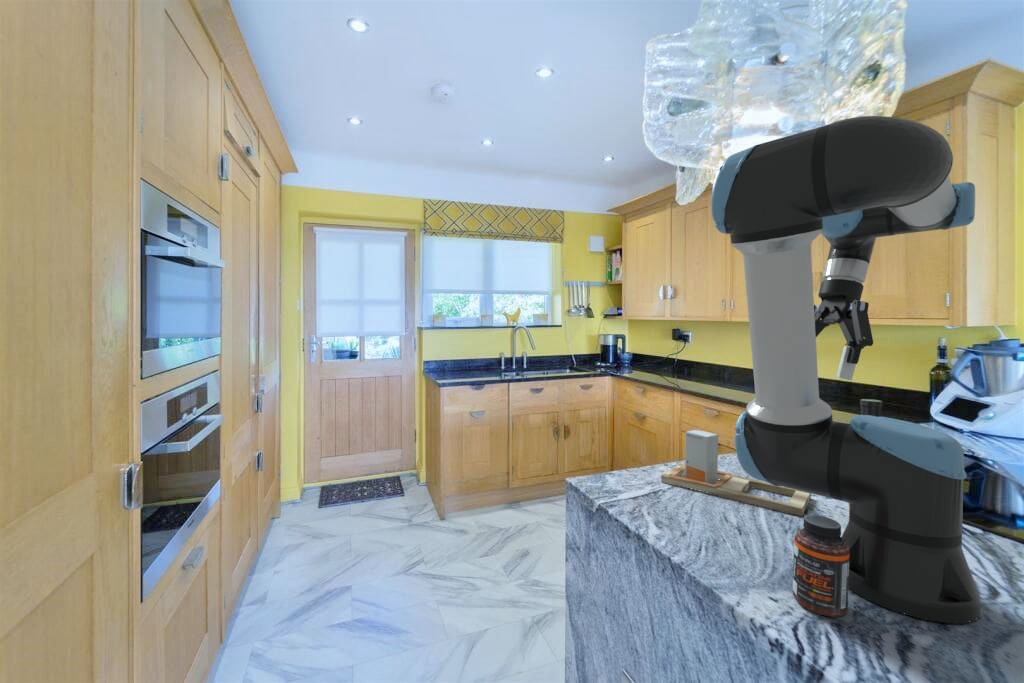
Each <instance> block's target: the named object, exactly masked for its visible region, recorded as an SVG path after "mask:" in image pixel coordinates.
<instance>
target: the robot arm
mask: <svg viewBox="0 0 1024 683" xmlns="http://www.w3.org/2000/svg"><path fill="white" fill-rule="evenodd" d="M953 158H954V157H953V152H952V149H951V146H950V144H949V142H948V140H947V139H946V137H944V135H943V134H942V133H940V132H939V131H937V130H936V129H934V128H932V127H930V126H929V125H926V124H923V123H921V122H918V121H914V120H911V119H907V118H902V117H896V116H884V115H883V116H882V115H867V116H863V115H862V116H856V117H850V118H845V119H840V120H838V121H833V122H831V123H830V124H826V125H823V126H818V127H815V128H812V129H808V130H804V131H801V132H797V133H795V134H791V135H788V136H787V135H786V136H784V137H783V136H782V137H780V138H777V139H773V140H770V141H766V142H763V143H758V144H754V145H753V146H751V147H749V148H746V149H744V150H741V151H738V152H736V153H732V154H731V155H729V156H728V157H727V158H726V159H725V160H724V161H722V163H721V165H720V166H719V168H718V170H717V172H716V174H715V176H714V181H713V185H712V189H711V198H710V201H711V202H710V206H711V217H712V221H713V222H715V223H714V225H715V228H716V229H717V231H719V233H721V234H725V235H729V236H730V246H731V247H733V248H734V249H736V250H737V251H739V252H740V253H741V255H742V256H743V257H742V258H743V267H744V268H743V269H744V270H743V271H744V279H745V290H746V291H745V292H746V300H747V304H746V305H747V314H748V327H749V337H750V347H751V348H750V349H751V359H752V370H753V380H754V382H753V383H754V393H755V397H754V398H753V399H752V400H751V401H750V402H748V404H746V407H745V409H746V410H744V411H743V412H741V413H740V415H739V416H738V417H737V420H736V423H735V434H734V448H735V453H736V456H737V457H736V458H737V461H738V463H739V464H740V466H741V468H742V470H743V471H744V472H745V473H746V474H747V475H748V476H750V477H751V478H752V479H754V480H758V481H763V482H768V483H770V484H772V485H775V486H783V487H787V488H792V489H796V490H800V491H804V492H808V493H811V495H817V496H820V497H825V498H829V499H832V500H833V499H834V500H836V501H837V500H838V501H842V502H845V503H848V504H849V505H848V509H849V510H848V522H847V525H846V527H845V529H844V531H843V533H842V534H841V536H840V537H841V538H842V539H843V540H844V541H845V542H846V543H847V544H848V546H849V550H850V554H849V582H848V590H851V591H853V592H854V593H855V594H857V595H859V596H861V597H862V598H864V599H866V600H868V601H870V602H872V603H875V604H877V605H879V606H881V607H883V608H886V609H888V610H891V611H893V610H894V612H896V611H898V612H897V613H899V612H901V613H900V614H902V613H905V614H907V615H906V616H908V615H911V616H910V617H912V616H914V617H913V618H915V617H917V618H916V619H919V618H922V619H921V620H924V619H926V620H925V621H928V620H932V621H931V622H934V621H939V622H938V623H940V622H945V623H944V624H949V623H950V625H951V623H955V624H954V625H956V624H957V623H963V624H966V623H965V622H969V621H973V620H975V619H976V618H978V617H980V616H979V615H981V595H980V592H979V589H978V586H977V585H976V581H975V579H974V576H973V574H972V571H971V568H970V566H969V564H968V561H967V559H966V557H965V553H964V550H963V513H964V512H963V509H964V508H963V507H964V503H963V502H964V480H965V479H967V472H966V471H965V459H964V456H965V455H964V448H963V446H962V445H961V443H960V442H959V441H958V440H957V438H955V437H953V436H951V435H949V434H948V433H946V432H943V431H941V430H938V429H936V428H934V427H933V428H932V427H929V426H925V425H922V424H918V423H916V422H912V421H911V422H910V421H906V420H901V419H896V418H892V417H885V416H881V417H876V416H870V415H861V414H859V415H857V414H856V415H854V416H853V417H852V418H851V419H850V420H849V423H847V422H845V423H844V422H839V421H838V422H837V421H834V420H833V409H832V407H831V405H830V404H829V403H827V402H825V401H824V400H822V399H821V398H820V390H819V389H820V388H819V375H818V374H819V373H818V372H819V370H818V355H817V354H818V353H817V352H818V351H817V338H818V336H819V335H820V334H821V332H822V331H823V330H824V329H825V328H827V327H830V326H831V325H836V324H838V325H839V327H840V329H841V332H842V334H843V336H844V338H845V341H846V343H845V344H844V346H843V349H842V353H841V357H840V361H839V366H838V369H837V372H836V373H837V374H836V375H835V376H836V378H839V379H843V380H847V381H852V380H853V376H854V373H855V369H856V365H858V363H859V361H860V356H861V352H862V350H863V349H864V348H865V347H872V346H873V344H874V339H873V333H872V328H871V324H870V318H869V314H868V312H869V302H866V301H864V300H861V299H862V296H863V291H864V287H865V286H864V285H863V284H864V283H865V281H866V278H867V274H868V269H869V266H870V261H871V258H872V254H873V250H874V247H875V244H876V243H875V242H876V239H877V238H882V237H883V238H884V237H889V236H890V237H891V236H897V235H904V234H912V233H913V234H914V233H920V232H921V233H922V232H929V231H939V230H949V229H953V228H959V227H965V226H969V225H970V224H972V223H973V222H974V220H975V214H976V212H975V211H976V186H975V184H974V183H973V182H966V181H965V182H960V183H959V182H958V183H954V182H953V183H952V181H951V178H950V174H951V171H952V168H953V163H954V159H953ZM820 234H821V235H822V236H823V237H824V238H825V239H826V240H827V242H828V243H829V244H830V246H829V251H828V256H827V258H826V262H825V267H824V270H823V274H822V280H823V281H821V283H820V287H819V292H818V293H817V294H818V298H819V299H820V300H821V303H820V304H819V305H816V304H815V302H814V301H815V299H814V284H813V263H812V250H811V248H812V246H811V245H812V243H813V242H814V240H816V239H817V237H818V236H819V235H820ZM905 614H904V615H905ZM978 619H979V618H978ZM976 620H977V619H976ZM976 620H975V621H976ZM973 622H974V621H973ZM969 623H970V622H969ZM957 625H958V624H957Z"/></svg>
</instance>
